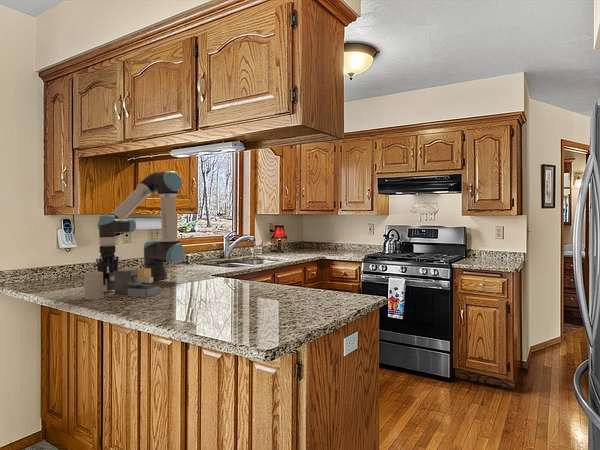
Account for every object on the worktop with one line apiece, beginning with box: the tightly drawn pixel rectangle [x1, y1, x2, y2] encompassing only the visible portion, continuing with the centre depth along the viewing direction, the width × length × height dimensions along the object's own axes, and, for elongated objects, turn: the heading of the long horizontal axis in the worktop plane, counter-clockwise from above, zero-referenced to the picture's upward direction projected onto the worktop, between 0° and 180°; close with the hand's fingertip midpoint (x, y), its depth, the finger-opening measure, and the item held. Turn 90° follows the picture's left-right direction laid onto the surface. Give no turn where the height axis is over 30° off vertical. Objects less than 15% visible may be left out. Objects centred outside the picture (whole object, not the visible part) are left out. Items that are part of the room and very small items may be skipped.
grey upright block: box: [83, 271, 104, 300], centre depth 203 cm, size 8×8×12 cm
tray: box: [127, 284, 161, 298], centre depth 211 cm, size 10×11×4 cm
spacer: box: [138, 267, 151, 278], centre depth 211 cm, size 5×4×4 cm
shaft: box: [106, 271, 154, 292], centre depth 214 cm, size 4×29×9 cm, turn 72°
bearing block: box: [113, 267, 142, 297], centre depth 214 cm, size 10×8×12 cm
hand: (108, 290), depth 218 cm, fingers closed on shaft, 4 cm apart
